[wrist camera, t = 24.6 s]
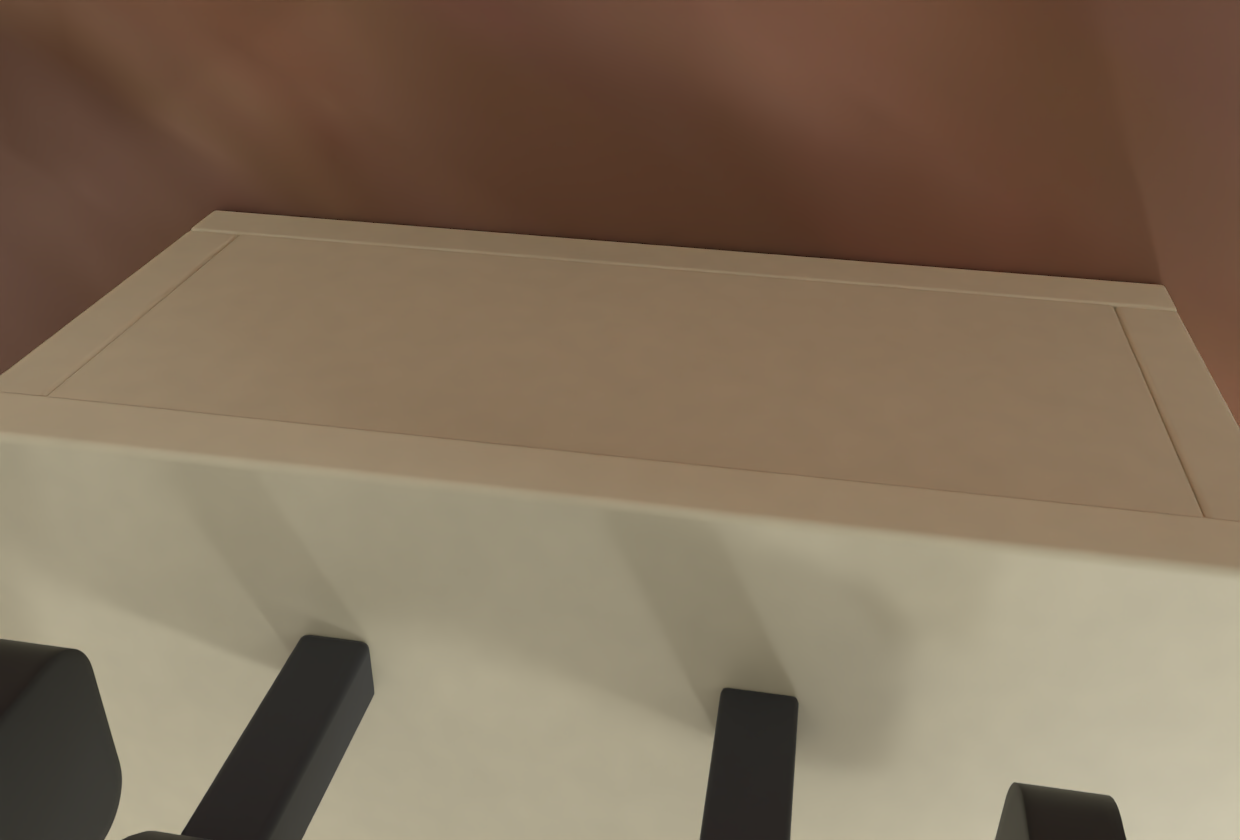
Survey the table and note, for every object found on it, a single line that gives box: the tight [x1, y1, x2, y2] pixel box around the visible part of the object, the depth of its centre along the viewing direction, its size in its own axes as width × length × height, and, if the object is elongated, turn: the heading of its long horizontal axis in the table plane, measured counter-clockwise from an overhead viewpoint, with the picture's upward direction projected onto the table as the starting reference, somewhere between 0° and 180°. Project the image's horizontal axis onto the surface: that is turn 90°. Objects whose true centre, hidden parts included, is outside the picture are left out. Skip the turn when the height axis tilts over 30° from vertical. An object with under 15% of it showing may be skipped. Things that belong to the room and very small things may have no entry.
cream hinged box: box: [0, 210, 1240, 521], centre depth 18 cm, size 16×14×7 cm
